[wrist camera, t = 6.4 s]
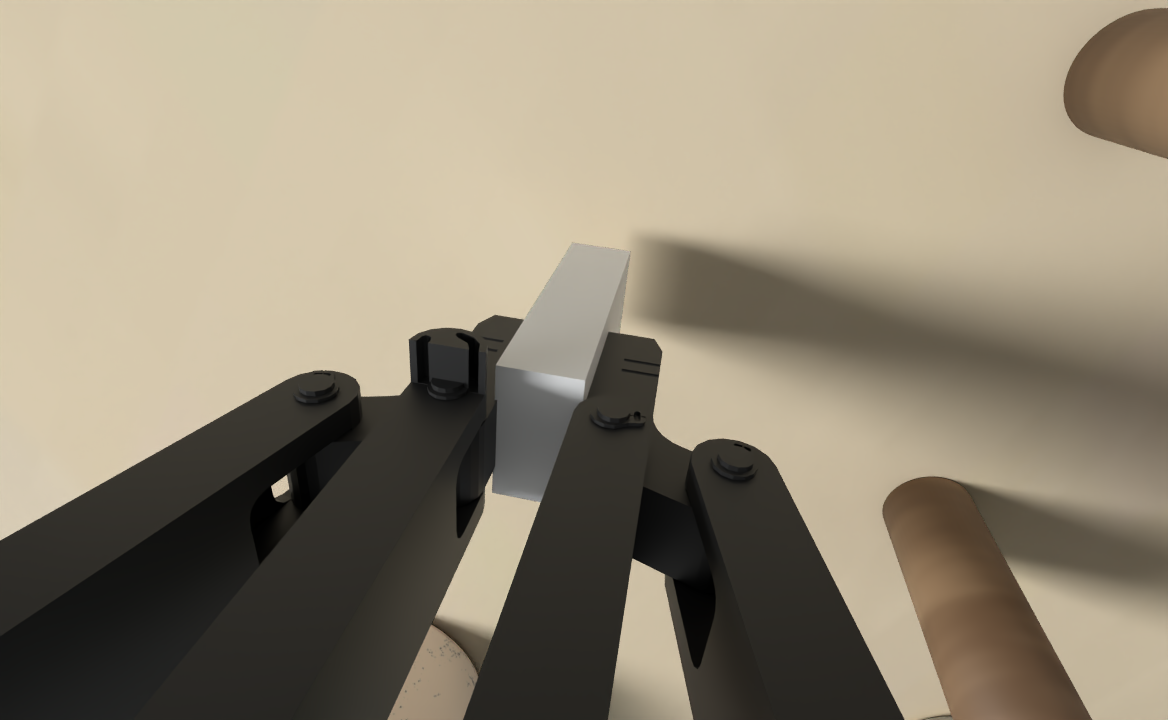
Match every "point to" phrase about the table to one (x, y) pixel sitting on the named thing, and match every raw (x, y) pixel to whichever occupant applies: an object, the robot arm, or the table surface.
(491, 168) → the table surface
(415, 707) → the teacup with lid
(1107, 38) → the post
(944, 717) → the energy drink
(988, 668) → the post
